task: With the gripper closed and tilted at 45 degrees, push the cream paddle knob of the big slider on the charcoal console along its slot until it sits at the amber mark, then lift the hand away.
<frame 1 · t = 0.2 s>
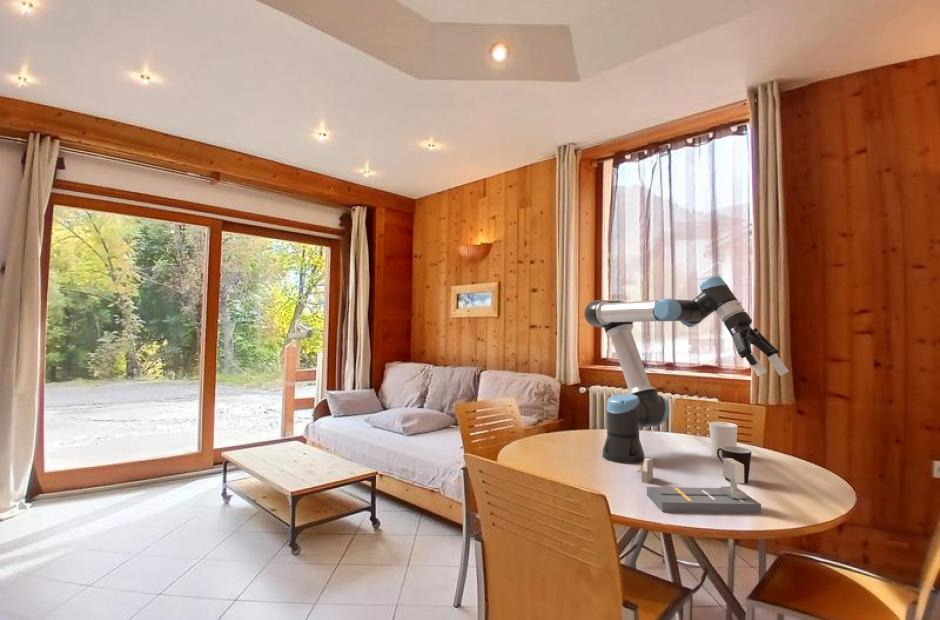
hand: (773, 374, 141), 35 cm above the table, fingers open, 13 cm apart
fader: (733, 477, 129), point 7 cm above the table, slide at 0.0 cm
coffee mug: (734, 479, 151), on the table
console: (701, 504, 129), on the table
architectural model: (647, 482, 149), on the table
candle holder: (723, 455, 179), on the table
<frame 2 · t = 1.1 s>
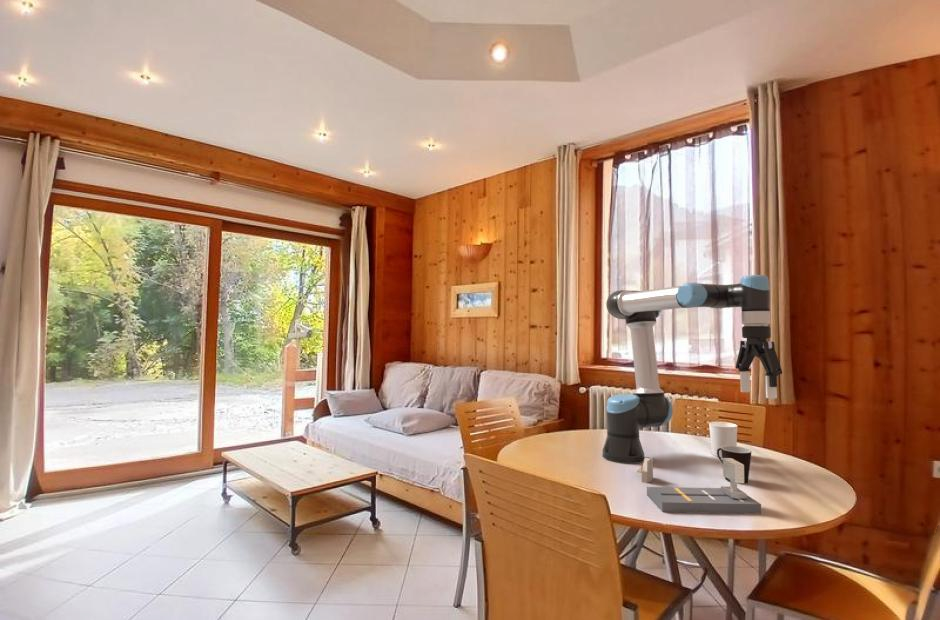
hand: (757, 395, 141), 29 cm above the table, fingers open, 13 cm apart
nothing on the table moved.
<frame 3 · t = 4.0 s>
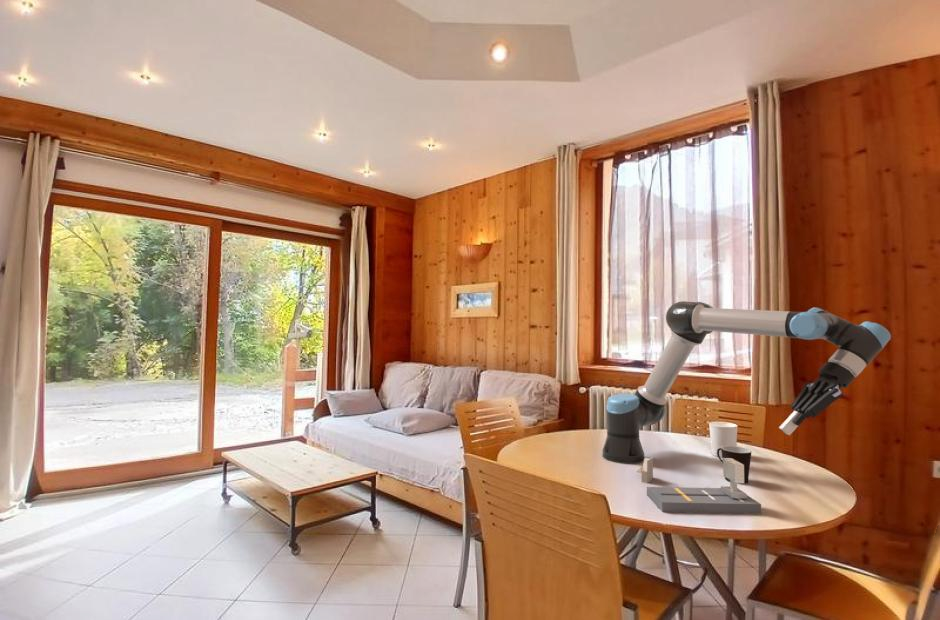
hand: (784, 431, 130), 20 cm above the table, fingers closed
nothing on the table moved.
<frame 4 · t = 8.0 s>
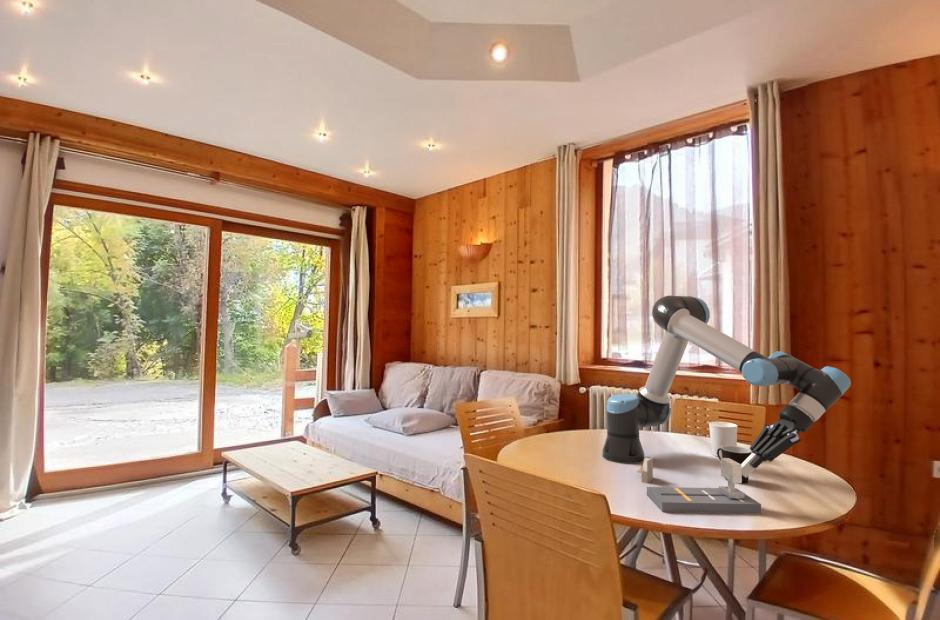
hand: (741, 473, 128), 9 cm above the table, fingers closed
fader: (731, 477, 129), point 7 cm above the table, slide at 0.7 cm, touching gripper
everything else where it was.
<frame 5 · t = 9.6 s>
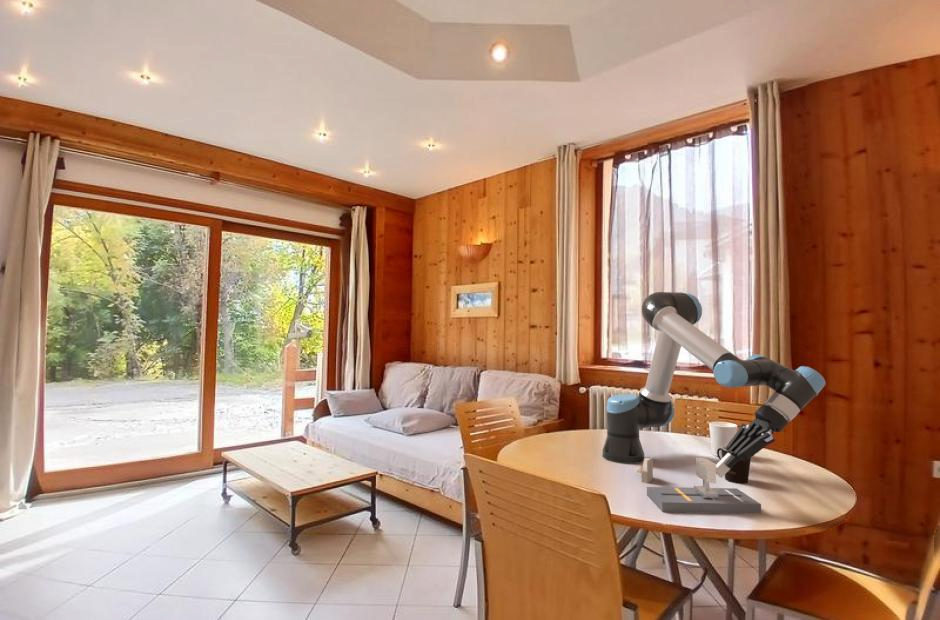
hand: (716, 473, 128), 9 cm above the table, fingers closed
fader: (705, 477, 129), point 7 cm above the table, slide at 7.6 cm, touching gripper
everything else where it was.
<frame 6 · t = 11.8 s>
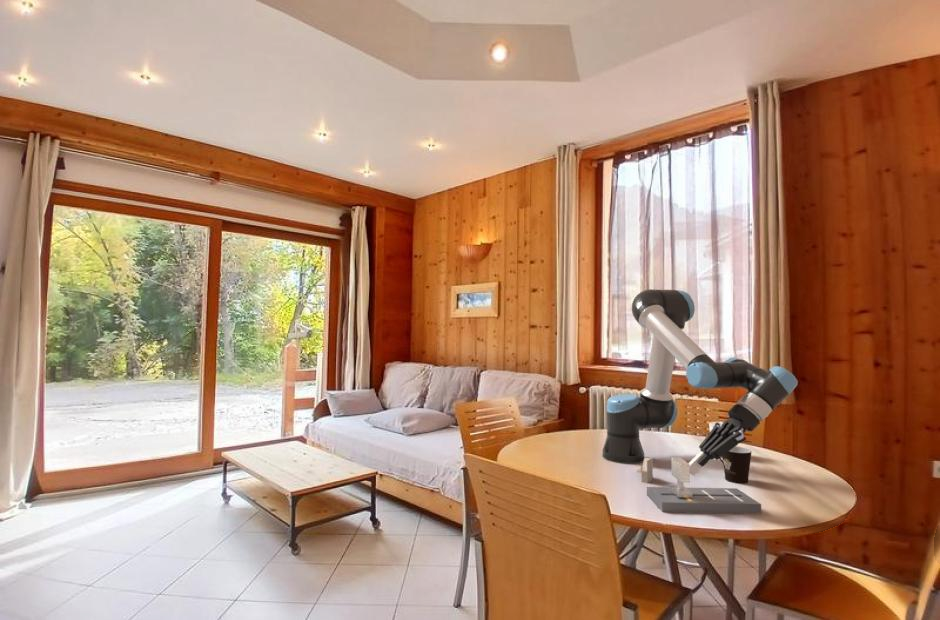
hand: (689, 471, 129), 9 cm above the table, fingers closed
fader: (680, 477, 130), point 7 cm above the table, slide at 14.6 cm, touching gripper
everything else where it was.
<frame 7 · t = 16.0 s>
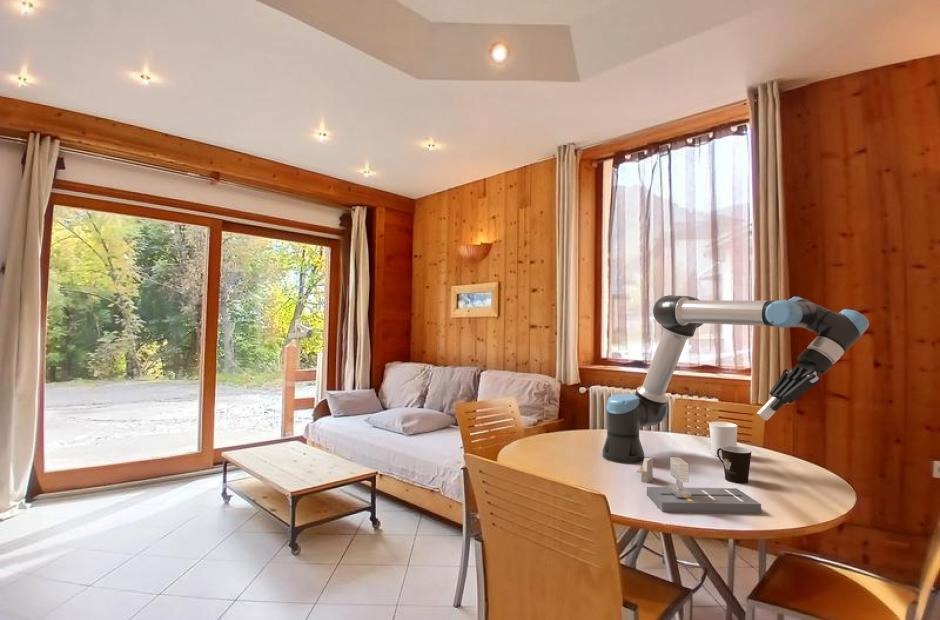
hand: (761, 416, 130), 24 cm above the table, fingers closed
fader: (679, 477, 130), point 7 cm above the table, slide at 14.9 cm
everything else where it was.
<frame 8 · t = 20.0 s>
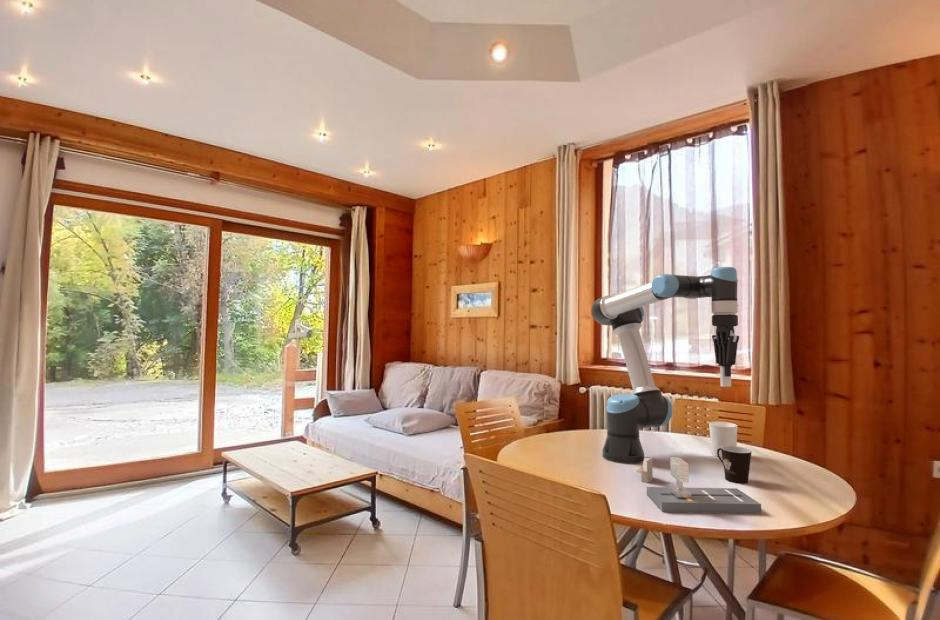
hand: (725, 386, 150), 30 cm above the table, fingers closed
nothing on the table moved.
at the end: fader slide at 14.9 cm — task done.
